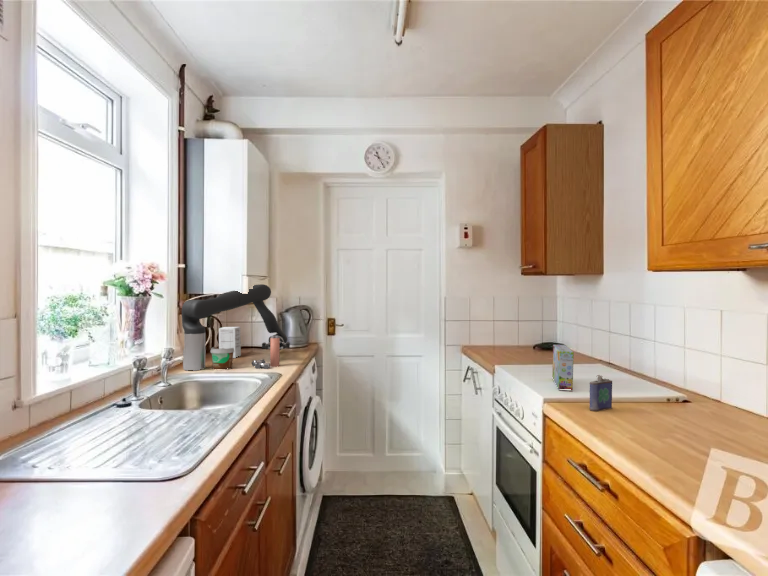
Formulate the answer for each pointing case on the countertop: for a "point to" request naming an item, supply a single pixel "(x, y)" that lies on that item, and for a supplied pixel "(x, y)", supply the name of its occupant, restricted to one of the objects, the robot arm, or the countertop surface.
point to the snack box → (563, 366)
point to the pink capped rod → (274, 351)
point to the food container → (222, 358)
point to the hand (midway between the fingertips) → (275, 347)
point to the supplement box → (230, 339)
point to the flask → (600, 394)
